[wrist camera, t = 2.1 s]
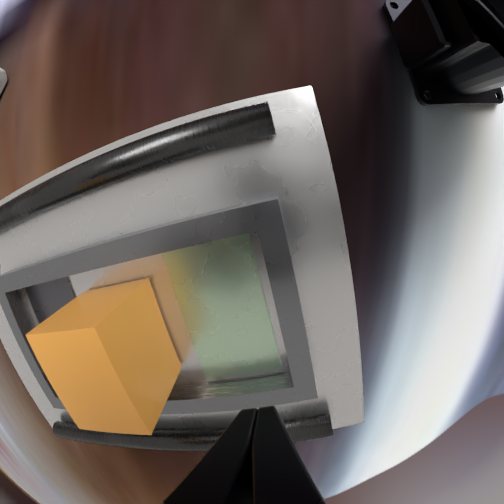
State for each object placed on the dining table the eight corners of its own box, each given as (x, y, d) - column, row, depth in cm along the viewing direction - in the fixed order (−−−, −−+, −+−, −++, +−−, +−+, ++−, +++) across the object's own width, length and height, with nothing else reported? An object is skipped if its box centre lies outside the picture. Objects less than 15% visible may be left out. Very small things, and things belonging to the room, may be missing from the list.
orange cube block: (148, 277, 14) (94, 327, 9) (182, 367, 15) (151, 435, 10) (84, 291, 14) (25, 334, 9) (119, 371, 15) (79, 428, 11)
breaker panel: (306, 96, 13) (316, 75, 10) (357, 401, 17) (369, 439, 14) (-20, 220, 16) (-52, 230, 13) (65, 417, 20) (46, 442, 17)
